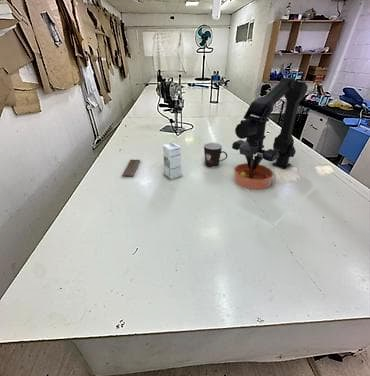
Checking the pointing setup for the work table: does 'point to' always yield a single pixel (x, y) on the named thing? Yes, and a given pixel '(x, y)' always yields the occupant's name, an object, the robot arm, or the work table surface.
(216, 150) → the coffee mug
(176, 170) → the syrup box
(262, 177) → the bowl
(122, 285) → the work table surface
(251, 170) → the stick
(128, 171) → the wooden plank
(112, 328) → the work table surface
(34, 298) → the work table surface
